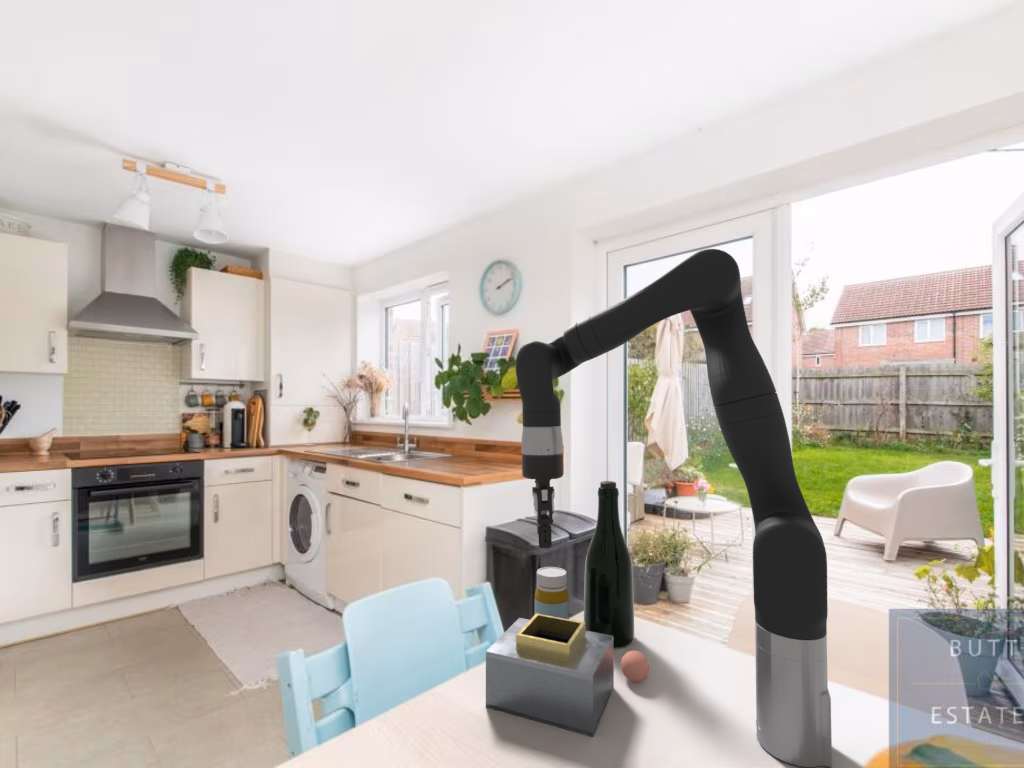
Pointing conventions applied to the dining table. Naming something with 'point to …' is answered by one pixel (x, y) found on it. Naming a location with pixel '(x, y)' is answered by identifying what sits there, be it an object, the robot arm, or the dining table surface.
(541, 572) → the bottle
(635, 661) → the ball
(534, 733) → the dining table surface
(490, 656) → the grey box with opening
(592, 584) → the dark green wine bottle
